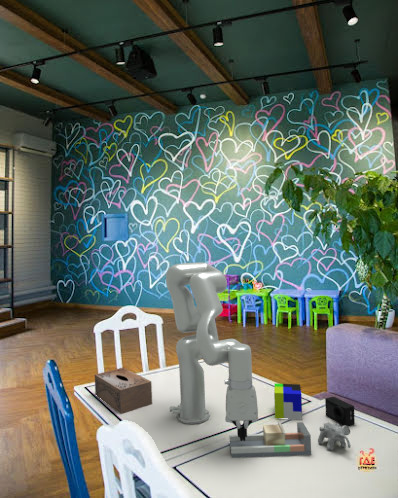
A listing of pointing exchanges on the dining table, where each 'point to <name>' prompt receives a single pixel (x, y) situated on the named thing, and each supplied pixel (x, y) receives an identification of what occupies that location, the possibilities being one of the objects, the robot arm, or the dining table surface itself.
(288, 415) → the puzzle toy
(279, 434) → the beige rectangular block
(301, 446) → the grey metal rail
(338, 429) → the elephant statuette
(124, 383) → the tissue box cover
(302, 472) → the dining table surface
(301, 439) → the grey angled bar
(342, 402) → the digital camera
